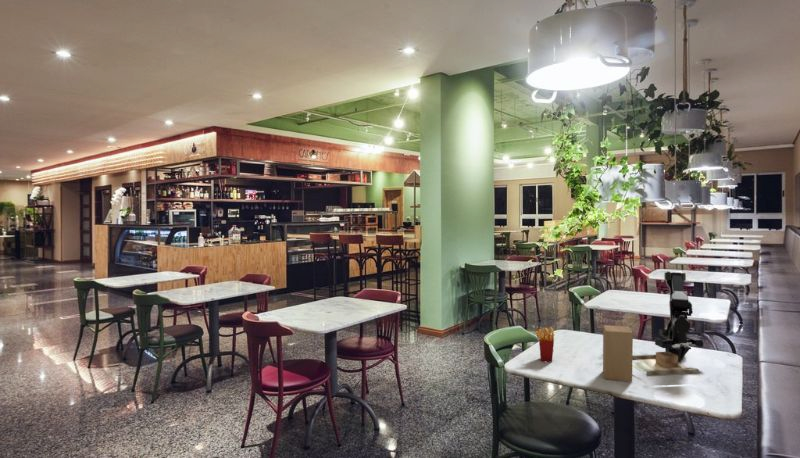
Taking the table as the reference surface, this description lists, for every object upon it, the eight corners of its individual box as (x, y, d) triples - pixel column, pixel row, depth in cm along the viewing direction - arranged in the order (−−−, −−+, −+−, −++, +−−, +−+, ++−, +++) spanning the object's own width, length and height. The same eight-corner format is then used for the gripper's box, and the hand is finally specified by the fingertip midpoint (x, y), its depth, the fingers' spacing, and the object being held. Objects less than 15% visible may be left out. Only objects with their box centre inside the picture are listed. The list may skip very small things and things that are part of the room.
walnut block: (668, 362, 202) (668, 351, 202) (677, 367, 196) (678, 355, 196) (655, 363, 201) (655, 352, 201) (664, 368, 195) (664, 356, 195)
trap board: (666, 358, 209) (666, 354, 209) (698, 374, 189) (698, 369, 189) (620, 360, 208) (620, 355, 207) (647, 377, 188) (647, 371, 188)
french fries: (554, 363, 205) (554, 330, 205) (535, 361, 208) (535, 328, 207) (554, 357, 214) (554, 325, 213) (535, 355, 216) (535, 324, 216)
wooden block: (628, 373, 192) (629, 326, 191) (632, 382, 182) (632, 332, 181) (602, 371, 195) (603, 324, 194) (605, 379, 186) (605, 330, 185)
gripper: (686, 321, 207) (686, 355, 208) (647, 322, 206) (646, 356, 206) (704, 327, 196) (704, 363, 197) (663, 329, 194) (663, 365, 195)
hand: (678, 362), depth 199 cm, fingers closed
